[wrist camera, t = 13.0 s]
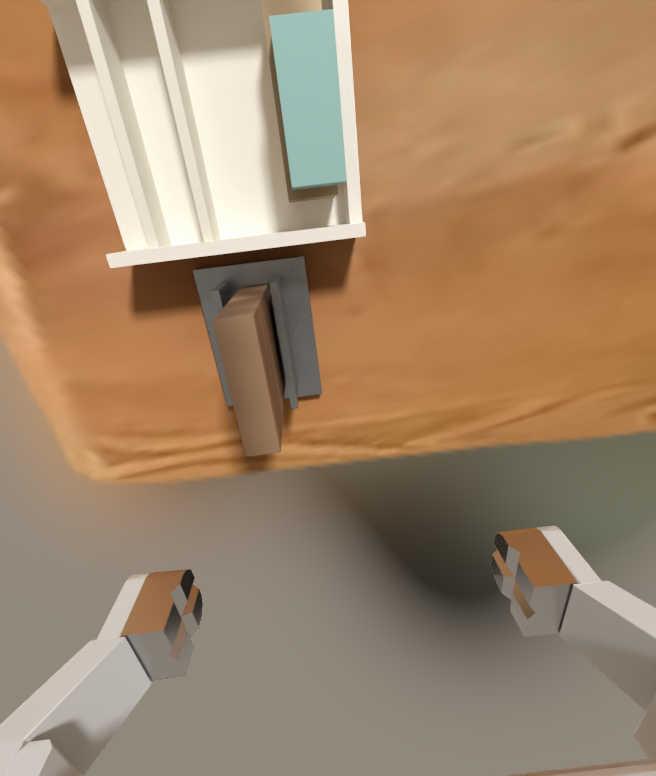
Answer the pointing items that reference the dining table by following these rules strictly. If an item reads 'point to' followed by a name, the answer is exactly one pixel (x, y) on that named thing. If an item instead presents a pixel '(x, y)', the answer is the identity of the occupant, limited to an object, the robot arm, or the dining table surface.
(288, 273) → the stand
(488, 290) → the dining table surface
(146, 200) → the rack
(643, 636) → the robot arm
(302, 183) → the teal offcut
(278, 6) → the oak offcut
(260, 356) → the walnut board
